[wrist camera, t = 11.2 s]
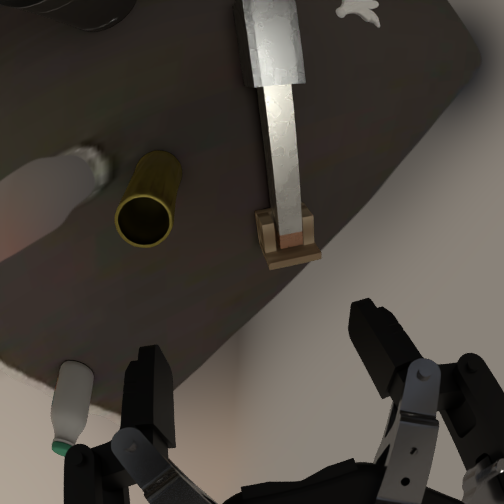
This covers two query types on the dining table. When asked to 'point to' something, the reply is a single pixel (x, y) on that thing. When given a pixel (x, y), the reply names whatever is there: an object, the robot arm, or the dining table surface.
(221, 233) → the dining table surface
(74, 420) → the milk bottle
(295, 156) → the white orange-tipped bar
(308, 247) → the socket
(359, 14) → the acanthus leaf ornament
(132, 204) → the vase
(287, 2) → the sleeve
